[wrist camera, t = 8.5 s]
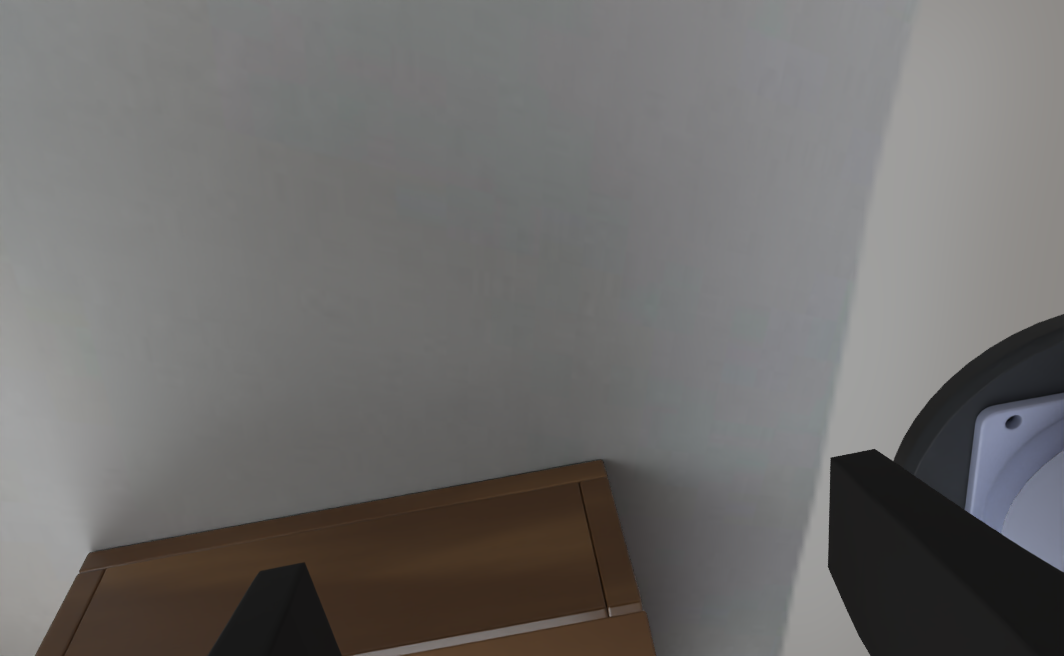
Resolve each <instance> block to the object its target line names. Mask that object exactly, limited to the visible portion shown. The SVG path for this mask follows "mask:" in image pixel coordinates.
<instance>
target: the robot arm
mask: <svg viewBox="0 0 1064 656" xmlns="http://www.w3.org/2000/svg"><path fill="white" fill-rule="evenodd" d="M1011 416H1013V418H1012V419H1010V420H1009V421H1007V420H1008V419H1009V418H1010V417H1011ZM1006 421H1007V422H1006ZM830 470H831V471H830V509H829V510H830V511H829V552H828V555H829V556H828V568H829V570H830V573H831V575H832V577H833V580H834V582H835V584H836V586H837V589H838V591H839V593H840V596H841V598H842V600H843V602H844V604H845V607H846V609H847V611H848V613H849V616H850V618H851V620H852V622H853V624H854V626H855V628H856V630H857V633H858V635H859V637H860V638H861V640H862V642H863V644H864V645H865V647H866V649H867V650H868V652H869V654H870V656H1064V393H1059V394H1053V395H1048V396H1042V397H1037V398H1031V399H1026V400H1020V401H1015V402H1009V403H1004V404H998V405H993V406H990V407H987V408H985V409H984V410H983V411H981V412H980V414H979V415H978V416H977V419H976V422H975V430H974V438H973V446H972V454H971V462H970V470H969V478H968V487H967V495H966V503H965V510H964V509H962V508H961V507H959V506H958V505H956V504H955V503H953V502H952V501H950V500H949V499H947V498H946V497H944V496H943V495H941V494H940V493H939V492H937V491H936V490H934V489H933V488H931V487H930V486H928V485H927V484H925V483H924V482H922V481H921V480H920V479H918V478H917V477H915V476H914V475H912V474H911V473H909V472H908V471H906V470H905V469H904V468H902V467H901V466H899V465H898V464H896V463H895V462H893V461H892V460H890V459H889V458H887V457H886V456H884V455H883V454H881V453H880V452H878V451H877V450H875V449H872V450H867V451H862V452H858V453H852V454H847V455H842V456H837V457H832V458H831V466H830ZM207 656H342V655H341V652H340V650H339V647H338V645H337V642H336V640H335V637H334V634H333V632H332V629H331V627H330V624H329V622H328V619H327V617H326V614H325V612H324V609H323V607H322V604H321V602H320V599H319V597H318V594H317V592H316V589H315V587H314V584H313V581H312V579H311V576H310V574H309V571H308V569H307V566H306V564H305V562H302V563H297V564H292V565H287V566H282V567H277V568H272V569H267V570H262V571H259V573H258V574H257V576H256V577H255V578H254V580H253V581H252V583H251V585H250V586H249V588H248V590H247V591H246V593H245V594H244V596H243V598H242V599H241V601H240V603H239V604H238V606H237V608H236V609H235V611H234V613H233V614H232V616H231V618H230V619H229V621H228V623H227V624H226V626H225V628H224V629H223V631H222V632H221V634H220V636H219V637H218V639H217V641H216V642H215V644H214V646H213V647H212V649H211V650H210V652H209V654H208V655H207Z"/></svg>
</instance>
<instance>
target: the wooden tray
mask: <svg viewBox="0 0 1064 656" xmlns="http://www.w3.org/2000/svg"><path fill="white" fill-rule="evenodd" d="M302 562H305V564H306V566H307V569H308V571H309V574H310V576H311V579H312V581H313V584H314V587H315V589H316V592H317V594H318V597H319V599H320V602H321V604H322V607H323V609H324V612H325V614H326V617H327V619H328V622H329V624H330V627H331V629H332V632H333V634H334V637H335V640H336V642H337V645H338V647H339V650H340V652H341V655H342V656H399V655H405V654H410V653H416V652H421V651H426V650H432V649H437V648H443V647H448V646H454V645H459V644H465V643H470V642H476V641H481V640H486V639H492V638H497V637H503V636H508V635H514V634H519V633H525V632H530V631H535V630H541V629H546V628H552V627H557V626H563V625H568V624H574V623H579V622H584V621H590V620H595V619H601V618H606V617H612V616H617V615H623V614H628V613H633V612H639V611H643V607H642V599H641V596H640V592H639V589H638V585H637V581H636V578H635V574H634V570H633V567H632V563H631V559H630V556H629V552H628V549H627V545H626V541H625V538H624V534H623V530H622V527H621V523H620V519H619V516H618V512H617V509H616V505H615V501H614V498H613V494H612V490H611V487H610V483H609V479H608V476H607V473H606V469H605V465H604V462H603V461H602V460H596V461H591V462H585V463H580V464H574V465H569V466H563V467H558V468H552V469H547V470H541V471H536V472H530V473H525V474H519V475H514V476H508V477H503V478H497V479H492V480H486V481H481V482H475V483H470V484H464V485H459V486H453V487H448V488H442V489H437V490H431V491H426V492H420V493H415V494H409V495H404V496H398V497H393V498H387V499H382V500H376V501H371V502H365V503H360V504H354V505H349V506H343V507H338V508H332V509H327V510H321V511H316V512H310V513H305V514H299V515H294V516H288V517H283V518H277V519H272V520H266V521H261V522H255V523H250V524H244V525H239V526H233V527H228V528H222V529H217V530H211V531H206V532H200V533H195V534H189V535H184V536H178V537H173V538H167V539H162V540H156V541H151V542H145V543H140V544H134V545H129V546H123V547H118V548H112V549H107V550H101V551H96V552H91V553H89V554H88V555H87V557H86V559H85V561H84V563H83V565H82V567H81V569H80V571H79V573H80V574H78V575H77V576H76V578H75V580H74V582H73V584H72V586H71V588H70V590H69V592H68V593H67V595H66V597H65V599H64V601H63V603H62V605H61V607H60V609H59V611H58V613H57V614H56V616H55V618H54V620H53V622H52V624H51V626H50V628H49V630H48V632H47V634H46V636H45V637H44V639H43V641H42V643H41V645H40V647H39V649H38V651H37V653H36V655H35V656H207V655H208V654H209V652H210V650H211V649H212V647H213V646H214V644H215V642H216V641H217V639H218V637H219V636H220V634H221V632H222V631H223V629H224V628H225V626H226V624H227V623H228V621H229V619H230V618H231V616H232V614H233V613H234V611H235V609H236V608H237V606H238V604H239V603H240V601H241V599H242V598H243V596H244V594H245V593H246V591H247V590H248V588H249V586H250V585H251V583H252V581H253V580H254V578H255V577H256V576H257V574H258V573H259V571H262V570H267V569H272V568H277V567H282V566H287V565H292V564H297V563H302Z"/></svg>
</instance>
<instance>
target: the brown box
mask: <svg viewBox="0 0 1064 656" xmlns="http://www.w3.org/2000/svg"><path fill="white" fill-rule="evenodd" d="M399 656H656V652H655V647H654V643H653V639H652V634H651V630H650V626H649V621H648V617H647V613H646V612H645V611H639V612H633V613H628V614H623V615H617V616H612V617H606V618H601V619H595V620H590V621H584V622H579V623H574V624H568V625H563V626H557V627H552V628H546V629H541V630H535V631H530V632H525V633H519V634H514V635H508V636H503V637H497V638H492V639H486V640H481V641H476V642H470V643H465V644H459V645H454V646H448V647H443V648H437V649H432V650H426V651H421V652H416V653H410V654H405V655H399Z"/></svg>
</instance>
